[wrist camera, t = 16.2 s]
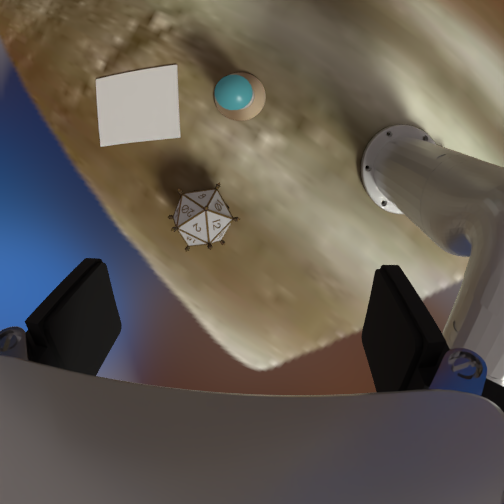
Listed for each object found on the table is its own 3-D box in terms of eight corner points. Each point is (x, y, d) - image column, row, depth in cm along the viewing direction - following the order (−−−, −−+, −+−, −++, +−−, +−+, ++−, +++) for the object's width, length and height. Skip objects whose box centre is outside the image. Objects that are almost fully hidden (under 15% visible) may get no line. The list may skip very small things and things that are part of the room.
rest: (265, 72, 36) (265, 71, 35) (266, 120, 38) (266, 120, 38) (214, 74, 36) (213, 73, 36) (215, 121, 39) (215, 121, 38)
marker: (254, 81, 36) (251, 73, 28) (255, 109, 38) (252, 109, 29) (225, 82, 36) (214, 75, 28) (226, 110, 38) (215, 111, 30)
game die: (200, 206, 48) (144, 227, 41) (220, 163, 42) (158, 179, 35) (238, 249, 46) (183, 278, 39) (264, 209, 40) (204, 235, 33)
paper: (177, 64, 35) (176, 64, 35) (180, 137, 40) (180, 137, 40) (96, 79, 36) (95, 79, 36) (101, 146, 40) (100, 146, 40)
